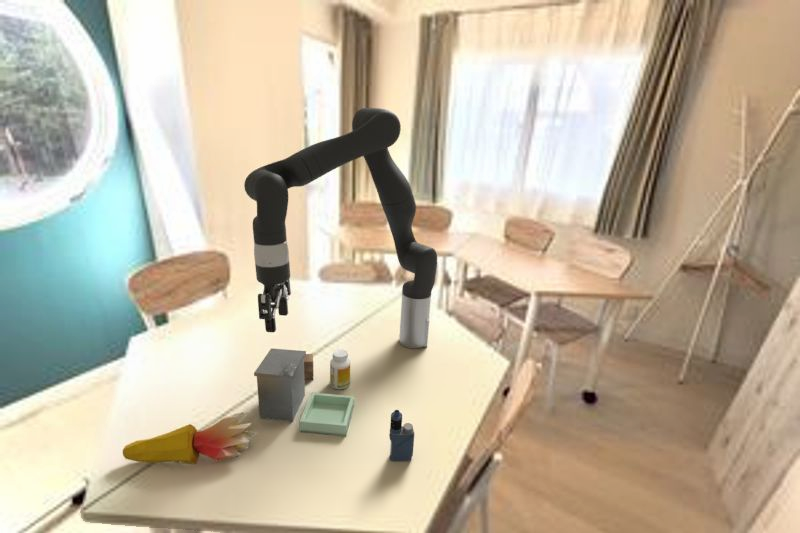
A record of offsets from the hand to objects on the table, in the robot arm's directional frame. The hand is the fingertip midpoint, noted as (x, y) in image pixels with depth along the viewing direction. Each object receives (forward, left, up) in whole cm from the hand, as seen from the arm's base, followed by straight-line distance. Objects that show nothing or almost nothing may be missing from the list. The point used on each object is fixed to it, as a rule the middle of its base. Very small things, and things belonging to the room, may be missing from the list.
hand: (277, 322), depth 99 cm
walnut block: (-4, -8, -21) cm, 23 cm away
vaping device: (-32, +18, -21) cm, 42 cm away
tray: (-14, +8, -21) cm, 26 cm away
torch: (+11, +22, -21) cm, 32 cm away
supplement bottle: (-14, -6, -21) cm, 26 cm away
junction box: (-2, +5, -21) cm, 21 cm away
